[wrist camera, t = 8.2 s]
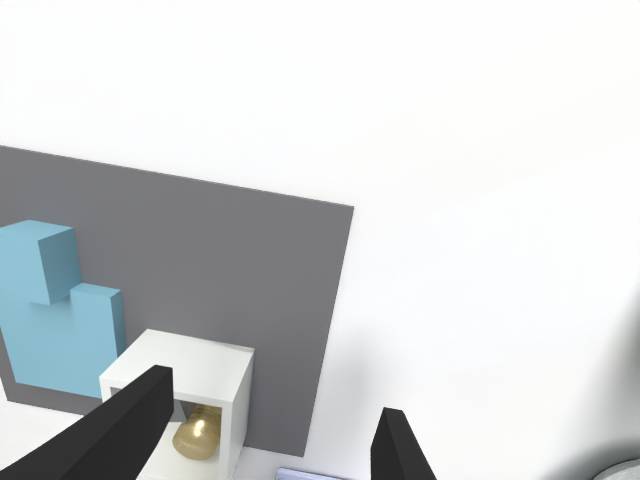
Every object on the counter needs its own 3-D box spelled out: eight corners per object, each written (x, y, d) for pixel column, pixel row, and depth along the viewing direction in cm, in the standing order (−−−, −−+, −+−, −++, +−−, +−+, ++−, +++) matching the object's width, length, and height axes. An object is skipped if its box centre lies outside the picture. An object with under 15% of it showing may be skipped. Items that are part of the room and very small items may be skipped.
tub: (246, 434, 24) (225, 497, 20) (153, 416, 25) (113, 474, 20) (254, 348, 21) (232, 402, 17) (147, 328, 21) (98, 377, 17)
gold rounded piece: (229, 424, 24) (214, 463, 21) (193, 417, 24) (172, 455, 21) (231, 396, 22) (215, 434, 20) (193, 389, 22) (171, 426, 20)
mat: (303, 453, 25) (303, 457, 25) (11, 397, 26) (7, 400, 25) (353, 206, 17) (354, 207, 17) (-68, 133, 18) (-74, 133, 18)
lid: (131, 391, 24) (108, 419, 22) (28, 372, 24) (-4, 397, 22) (115, 235, 19) (84, 249, 17) (-13, 212, 19) (-60, 223, 17)
